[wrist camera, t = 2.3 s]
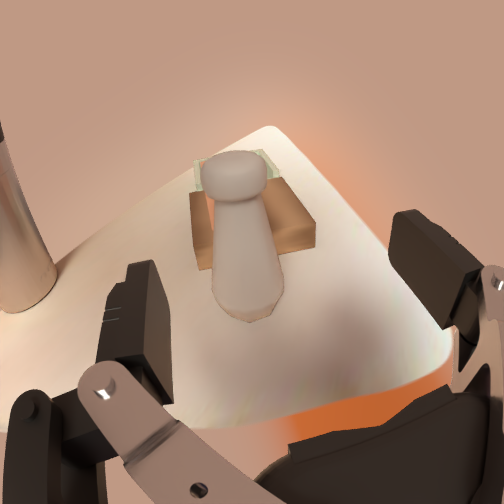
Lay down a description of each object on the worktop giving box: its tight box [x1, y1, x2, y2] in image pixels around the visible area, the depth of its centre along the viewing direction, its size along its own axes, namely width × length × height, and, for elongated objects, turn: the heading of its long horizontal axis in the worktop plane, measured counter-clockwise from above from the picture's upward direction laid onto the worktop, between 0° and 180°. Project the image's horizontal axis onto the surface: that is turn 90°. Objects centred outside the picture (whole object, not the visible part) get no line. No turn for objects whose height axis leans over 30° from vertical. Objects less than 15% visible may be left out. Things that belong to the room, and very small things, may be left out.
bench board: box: [189, 177, 316, 270], centre depth 36 cm, size 12×12×3 cm
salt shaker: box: [200, 151, 284, 323], centre depth 23 cm, size 6×6×13 cm
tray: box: [193, 149, 279, 191], centre depth 45 cm, size 11×10×4 cm
